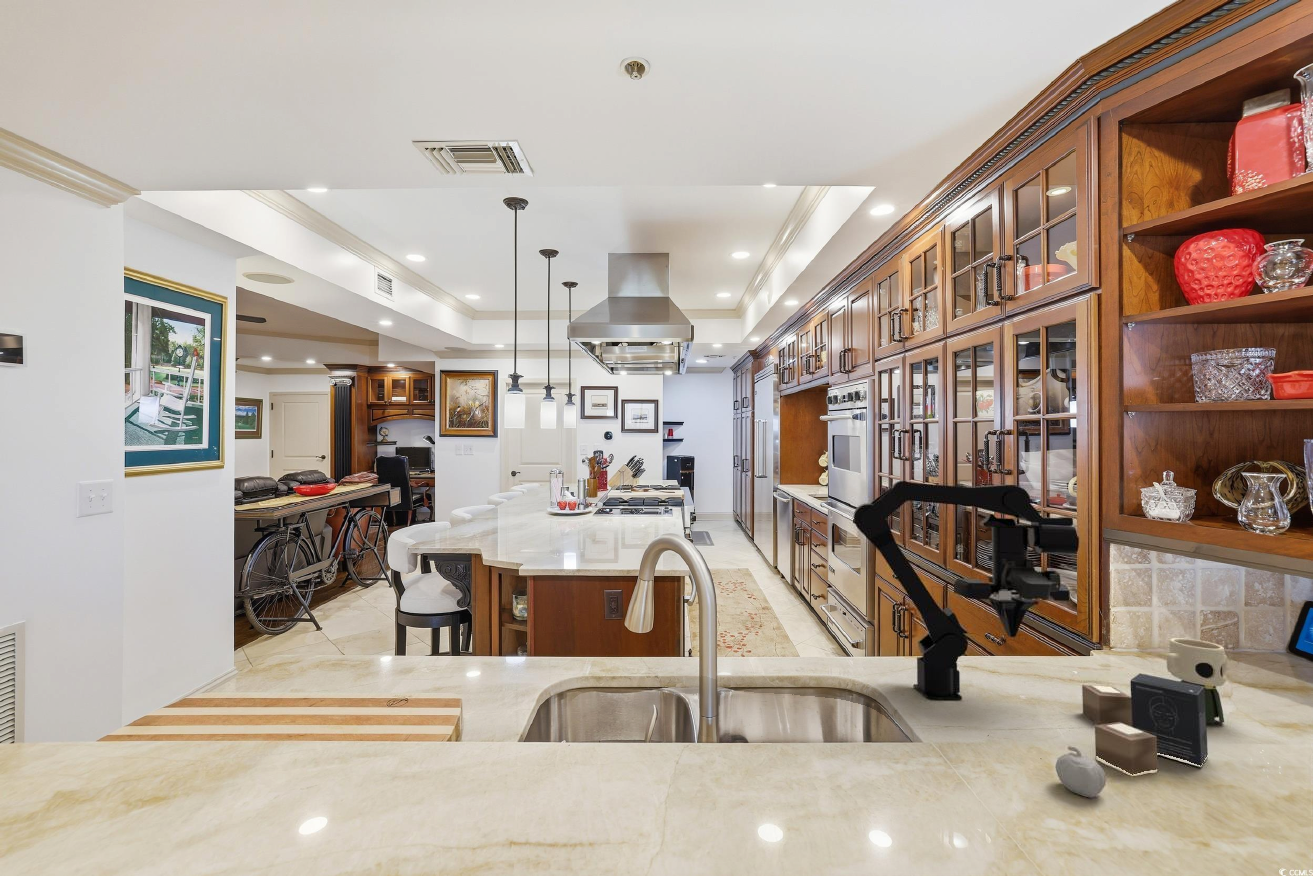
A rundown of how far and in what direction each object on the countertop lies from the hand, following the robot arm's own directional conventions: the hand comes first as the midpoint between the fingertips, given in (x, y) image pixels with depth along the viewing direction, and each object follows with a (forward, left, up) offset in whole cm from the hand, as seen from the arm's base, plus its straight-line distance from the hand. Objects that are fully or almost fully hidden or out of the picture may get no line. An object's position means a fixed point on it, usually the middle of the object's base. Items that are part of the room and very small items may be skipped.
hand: (1011, 636), depth 107 cm
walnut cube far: (+12, -7, -12) cm, 18 cm away
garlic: (-10, -30, -12) cm, 34 cm away
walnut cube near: (+2, -23, -12) cm, 26 cm away
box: (+12, -19, -12) cm, 26 cm away
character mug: (+29, -6, -12) cm, 32 cm away
